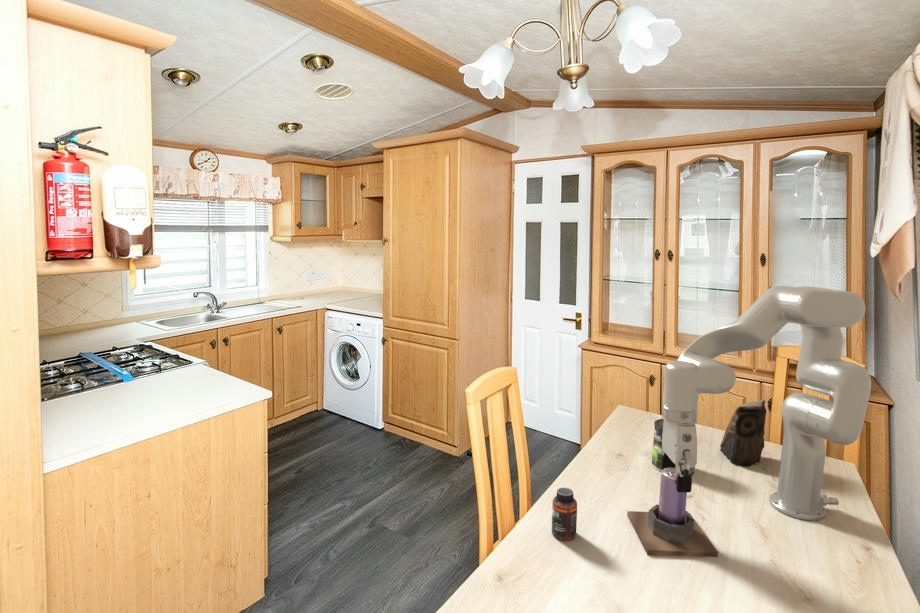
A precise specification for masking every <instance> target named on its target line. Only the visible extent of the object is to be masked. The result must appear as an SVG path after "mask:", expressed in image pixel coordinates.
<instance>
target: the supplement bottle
mask: <svg viewBox="0 0 920 613" xmlns="http://www.w3.org/2000/svg"><path fill="white" fill-rule="evenodd" d="M551 508H552V512H551V534H552V536H554V537H555V538H556V539H557V540H561V541H571V540H573V539H575V538H576V535H577V521H578V503H577V500H576V498H574V491H573V490H572V489H571V488H569V487H559V488H557V489H556V495H555V496H554V498H553V499H552V507H551Z"/></svg>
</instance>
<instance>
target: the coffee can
mask: <svg viewBox="0 0 920 613" xmlns="http://www.w3.org/2000/svg"><path fill="white" fill-rule="evenodd" d="M663 423H664V420H663V418H659V419H656V420H654V423H653V424H654V428H653V440H652V441H653V442H652V454H651V455H652V457H651V463H650V464H651V467H652V468H653V469H655V470H656V471H658V472H660V473H662V470H661V467H662V456H664V455H662V450H663V448H662V432H663ZM680 463H686V461H680ZM686 467H687V466H682V471H683V470H684V469H687V468H686ZM675 468H677V469H678V467H677V465H676V464H675Z"/></svg>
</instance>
